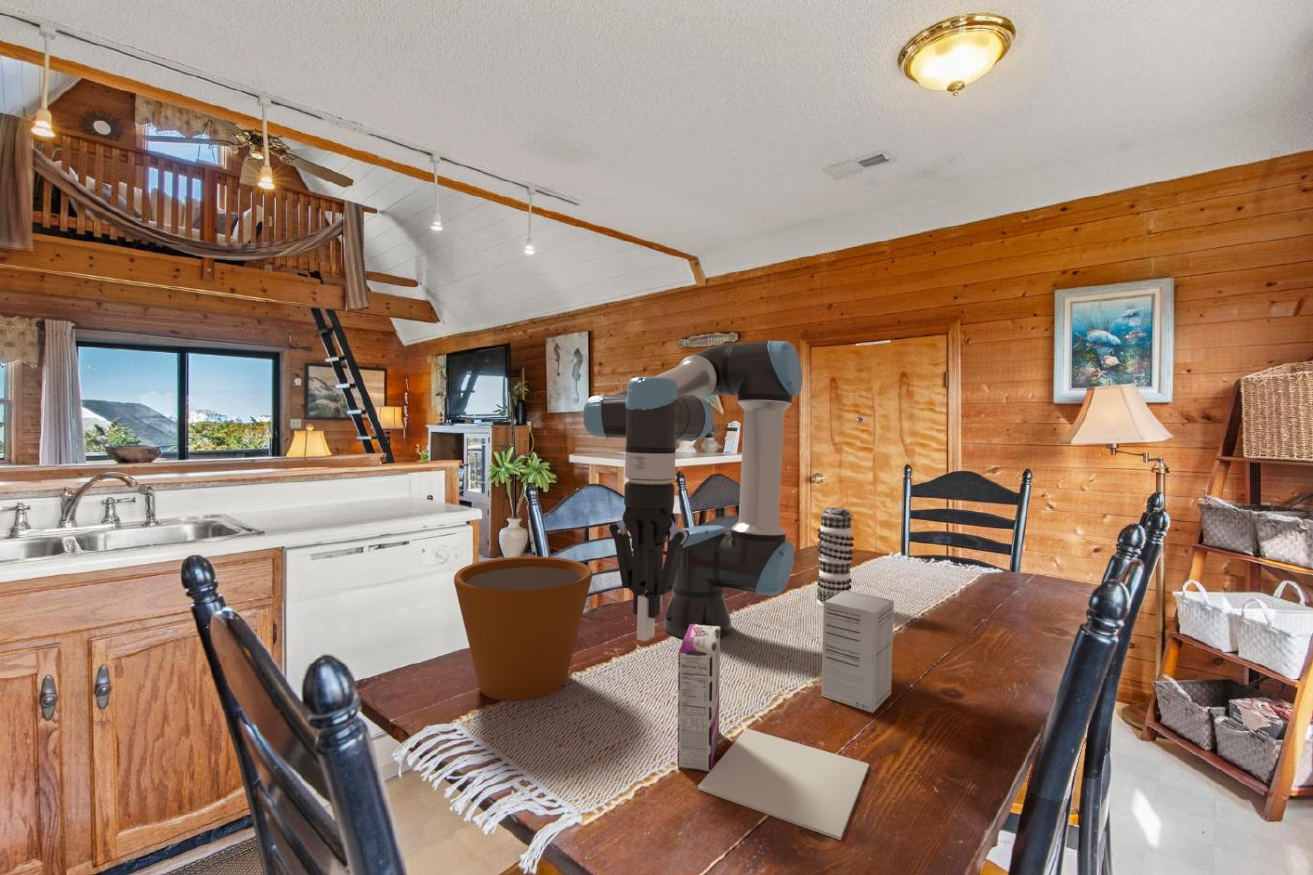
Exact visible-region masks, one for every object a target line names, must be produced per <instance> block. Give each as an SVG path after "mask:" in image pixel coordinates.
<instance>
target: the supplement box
mask: <svg viewBox="0 0 1313 875" xmlns="http://www.w3.org/2000/svg"><path fill="white" fill-rule="evenodd" d="M822 610H823V611H822V612H823V613H822V614H823V616H822V618H823V619H822V624H823V625H822V654H821V655H822V656H821V657H822V658H821V659H822V660H821V663H822V664H821V665H822V666H821V694H820V695H821V697H823V698H826V699H829V700H832V701H835V702H838V703H840V704H844V705H847V706H851V707H853V708H855V709H859V710H862V711H865V712H868V713H871V714H873V713H875V712H876V710H877V709H879V707H880V706H881V705H882V704H883V703H884V702H885V701H886V700H887V699H888V698H889V697H890V696H891V695H892V677H893V676H892V674H893V641H894V640H893V638H894V637H893V636H894V615H895V614H894V612H895V600H893V599H888V598H884V597H881V596H874V595H869V594H865V593H861V592H855V591H852V590H851V591H850V590H849V591H845V590H844V591H843V592H841V593H839V594H837V595H836V596H834V597H832V598H830V599H828V600H827V601H825V602H824V607H823V609H822Z"/></svg>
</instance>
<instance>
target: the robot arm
mask: <svg viewBox="0 0 1313 875" xmlns="http://www.w3.org/2000/svg"><path fill="white" fill-rule="evenodd" d="M801 364H802V363H801V360H800V356H799V353H798V351H797V349H796V347H795V346H794V345H793V344H792V343H791V342H789V341H787V340H782V341H781V340H763V341H750V342H747V341H746V342H727V343H722V344H718V345H714V346H711V347H708V348H706V349H703V350H700V351H698V352H696V353H693V354H690V355H689V356H686V357H684V358H683V359H682V360H681V361H680V363H679V364H678V366H676V367H674V368H671V369H669V370H667V371H664V372H662V373H659V374H657V375H656V376H638V377H637V376H636V377H633V378H631V379H630V380H629V381H628V383H627V388H626V389H624V390H621V391H619V392H617V393H613V394H606V393H603V394H598V395H597V394H596V395H593V396H591V397H589V398H588V399H587V400H586V402H585V404H584V406H583V410H582V411H583V412H582V419H583V425H584V427H585V430H586V431H587V432H588V433H589V434H590V435H591V436H592V437H596V438H605V439H625V452H624V453H625V456H624V458H625V459H624V477H625V478H626V479H628V481H626V482H625V483H624V486H623V488H624V489H623V490H624V491H623V504H624V507H625V510H624V512H623V514H622V518H621V520H619V521H618V522H616V523H611V524H610V525H608V530H609V532H610V534H611V537H612V538H613V541H614V545H615V546H614V547H615V551H616V557H617V558H616V559H617V565H618V569H619V575H620V581H621V585H622V588H623V589H628V590H629V591H631V592H632V594H633V596H632V597H633V599H632V601H633V604H632V607H633V608H632V612H633V615H634V616H636V617H637V620H636V621H637V624H636V625H637V626H636V640H639V641H644V642H647V641H648V640H650V639H652V638H653V637H655V632H656V630H655V629H656V627H655V626H656V618H658V617H659V616H660V614H661V596H662V595H663V596H664V595H665V594H667V593H670V592H671V591H672V594H671V598H670V600H669V603H668V605H667V609H666V612H665V615H664V618H663V620H664V621H663V622H664V623H663V627H664V630H665V632H667V633H668V634H670V635H672V636H674V637H677V638H681V639H684V638H685V636H686V633H687V631H688V628H689V626H690V624H699V625H709V626H719V627H720V639H722V638H723V637H726V636H727V635H729V634H730V633H731V629H732V619H731V615H730V612H729V609H728V605H727V603H726V600H725V589H729V590H735V591H739V592H745V593H750V594H756V595H758V596H761V595H765V596H771V597H773V596H775V597H776V596H778V595H779V594H781V593H783V591H784V590H785V589H786V586H787V585H788V583H789V581H790V578H791V575H792V572H793V567H794V561H795V551H794V550H795V547H794V544H793V543H792V542H790V541H789V540H786V538H787V537H786V536H787V535H786V534H787V533H786V532H787V531H786V530H785V529H784V528H783V527H782V526H781V525H780V510H781V508H780V507H781V486H782V484H781V483H782V466H783V465H782V464H783V447H784V446H783V442H784V421H785V420H784V419H785V412H786V411H787V410H788V409H789V408H790V407H791V406H792V405H793V404H792V403H793V397H797V396H798V395H800V393H801V391H802V387H803V370H802V365H801ZM709 396H737V404H738V405H739V407H741V409H742V410H743V422H742V423H743V424H742V443H741V444H742V446H741V467H740V487H739V505H738V506H739V509H738V521H737V522H736V523H735V524H734V525H733V526H731V529H730V534H727V530H726V527H725V526H724V525H717V524H716V525H715V524H714V525H713V524H712V525H698V526H690V527H685V528H681V527H680V526H679V525H678V524H676V522H677V520H676V518H675V515H674V507H675V492H676V491H675V485H674V482H672V480H674V479H676V444H677V443H676V441H677V442H678V441H680V442H681V441H682V442H683V441H684V442H694V441H697V440H700V439H703V438H704V437H706V436H707V435H708V434H709V433H710V432H711V430H712V428H713V426H714V420H715V418H714V417H715V416H714V411H713V408H712V406H711V405H710V403H709V402H708V401H707V400H705V398H707V397H709ZM628 532H629V533H628ZM668 536H669V541H670V542H669V543H668V547H667V548H666V549H667V550H666V555H665V559H664V557H663V556H664V553H663V552H664V549H665V545H666V544H665V543H666V542H665V541H666V538H667V537H668ZM630 538H631V539H630ZM663 559H664V562H663Z"/></svg>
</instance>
